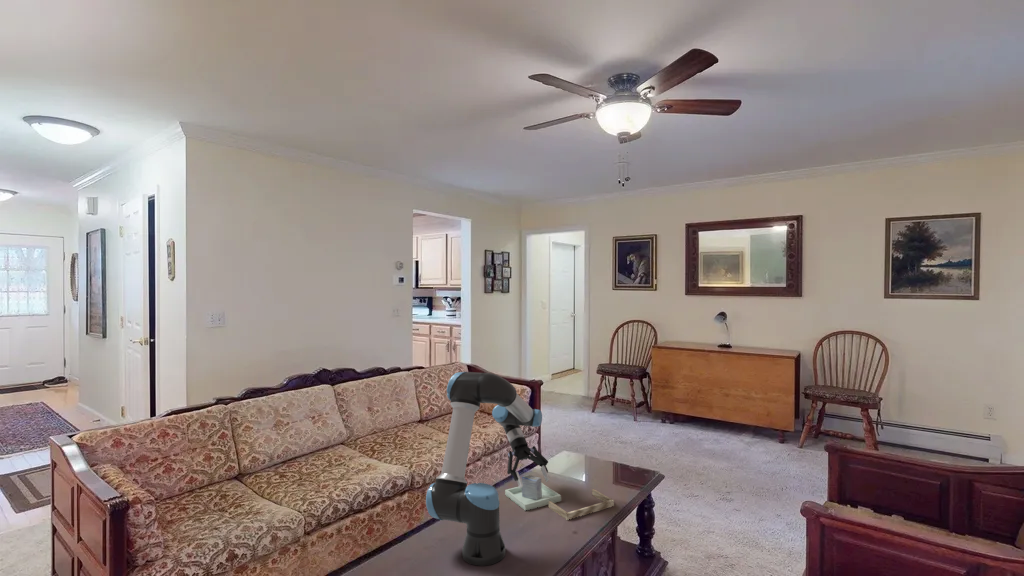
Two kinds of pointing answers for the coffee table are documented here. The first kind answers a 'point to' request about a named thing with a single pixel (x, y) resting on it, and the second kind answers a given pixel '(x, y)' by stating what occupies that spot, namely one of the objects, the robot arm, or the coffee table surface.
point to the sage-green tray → (528, 503)
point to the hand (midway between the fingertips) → (534, 483)
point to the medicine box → (531, 487)
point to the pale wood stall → (583, 511)
